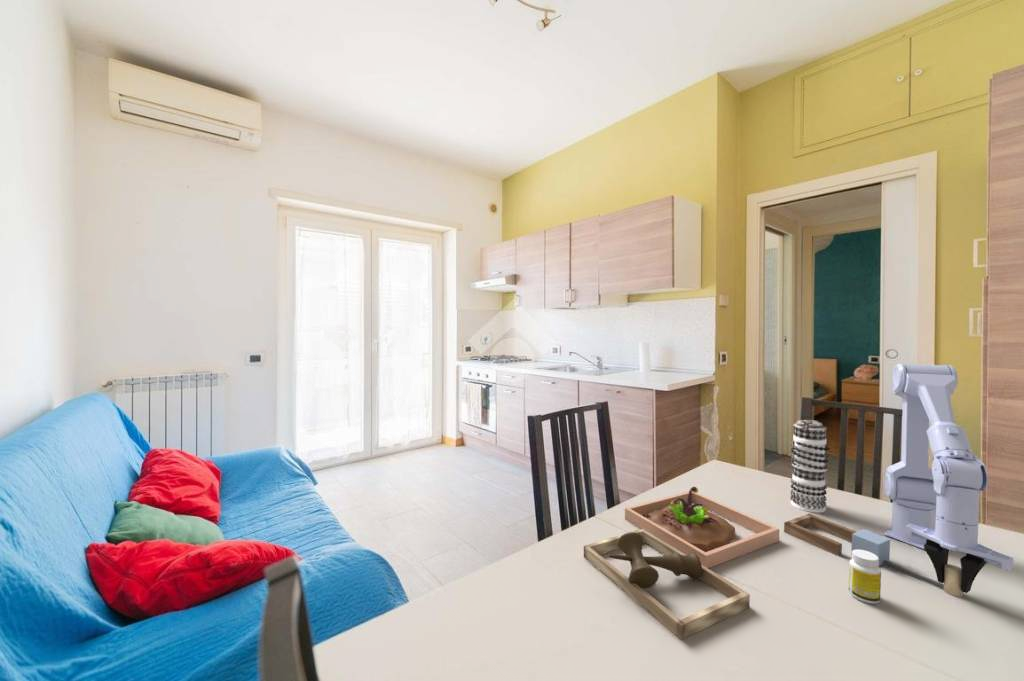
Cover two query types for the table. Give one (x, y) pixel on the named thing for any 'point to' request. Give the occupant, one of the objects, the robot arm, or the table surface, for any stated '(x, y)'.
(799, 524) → the walnut lane
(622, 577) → the beech serving tray
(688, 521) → the plant
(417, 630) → the table surface
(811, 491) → the decorative candle
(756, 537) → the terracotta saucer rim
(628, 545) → the kendama
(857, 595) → the supplement bottle
